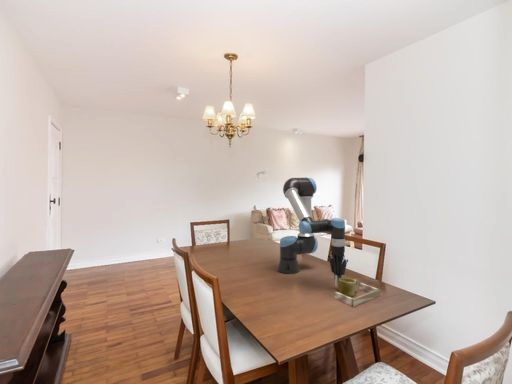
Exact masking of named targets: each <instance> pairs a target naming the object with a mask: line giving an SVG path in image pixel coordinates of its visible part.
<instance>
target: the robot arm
mask: <svg viewBox="0 0 512 384" xmlns="http://www.w3.org/2000/svg"><path fill="white" fill-rule="evenodd" d="M316 192H317V184H316V181H315V180H314V179H313V178H312V177H290V178H288V179H287V180H286V181H285V182H284V184H283V188H282V193H283V195H284V197H285V198H286V199H288V201H289V203H290V206H291V207H292V209H293V212H294V213H295V215H296V218H297V219H298V222H299V224H298V230H299V233H297V236H296V235H287V236H284V237H283V236H282V237H281V238H280V240H279V262H278V265H277V272H279V273H281V274H286V275H287V274H289V275H291V274H297V273H299V272H300V266H299V262H298V257H297V256H298V255H310V254H313V253H315V252H316V251H317V250H318V245H319V244H318V243H319V241H318V238H317V237H316V236H315V234H323V233H329V234H330V241H331V242H330V243H331V244H330V245H331V246H330V250H331V254H330V255H327V257H328V260H329V265H330V271H331V273H333V274H334V281H335V283H334V285H335V287H337V288H338V279H339V278H342V276H344V275H346V274H345V273H346V268H347V264H348V262H349V259H348V258H346V257H345V252H346V246H345V245H346V239H345V237H346V236H345V235H346V224H345V219H344V218H342V217H341V218H339V217H333V218H331V219H328V218H322V219H321V220H320V219H319V220H318V219H317V220H314V219H313V218H312V198H313V197H314V194H315V193H316Z"/></svg>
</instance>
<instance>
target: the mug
mask: <svg viewBox="0 0 512 384" xmlns="http://www.w3.org/2000/svg"><path fill="white" fill-rule="evenodd" d="M358 285H359V282H358V279H352V278H348V277H341V278H339V279H338V287H337V292H339V293H341V294H343V295H346V296H348V297H351V298H353V297H354V296H355V292H356V291H355V290H356V288H357V287H358Z"/></svg>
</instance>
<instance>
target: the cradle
mask: <svg viewBox="0 0 512 384" xmlns="http://www.w3.org/2000/svg"><path fill="white" fill-rule="evenodd" d="M358 285H359V290H361V291H364V292H365V293H364V294H362V295H359V296H356V297H354V298H353V297H348V296H346V295H343V294H341V293H339V292H338V291H337V290H336V291H334V296H333V297H334V299H335V300H338V301H339V302H342V303H344V304H346V305H348V306H350V307H353V308H354V307H357V306H359V305H361V304H364V303H367V302H369V301H371V300H373V299H377V298H378V297H380V296H381V289H380V288H376V287H374V286H371V285H369V284H365V283H363V282H358Z"/></svg>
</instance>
